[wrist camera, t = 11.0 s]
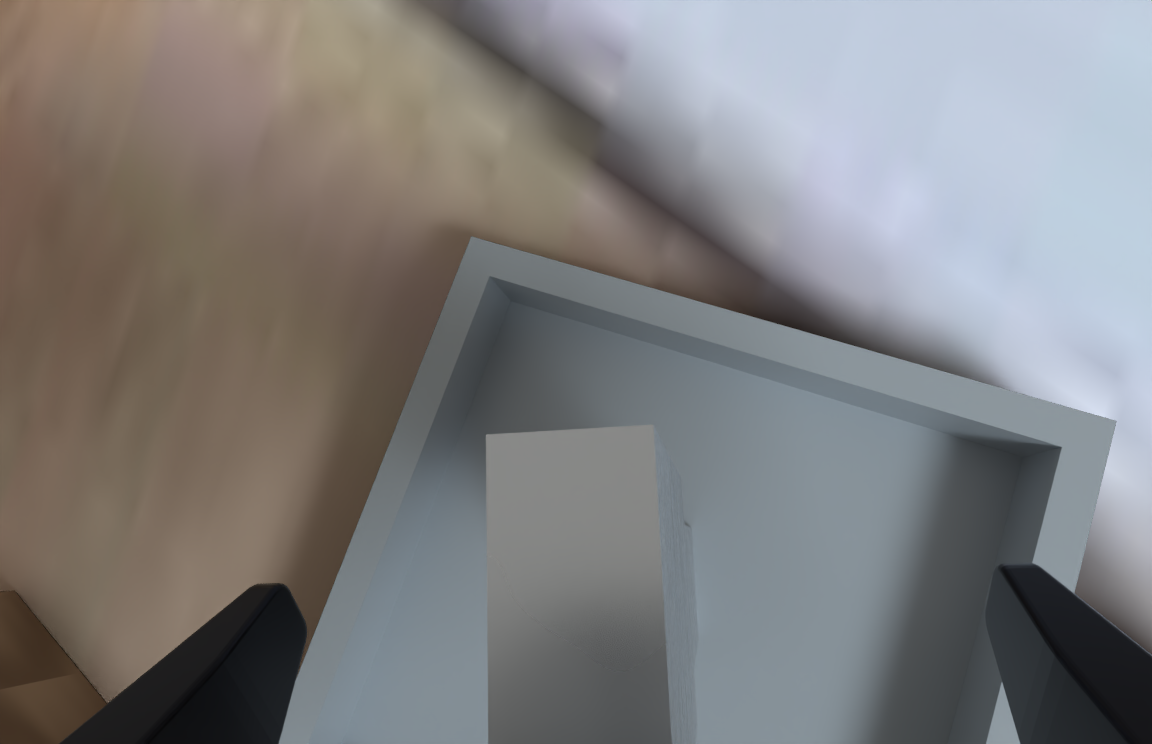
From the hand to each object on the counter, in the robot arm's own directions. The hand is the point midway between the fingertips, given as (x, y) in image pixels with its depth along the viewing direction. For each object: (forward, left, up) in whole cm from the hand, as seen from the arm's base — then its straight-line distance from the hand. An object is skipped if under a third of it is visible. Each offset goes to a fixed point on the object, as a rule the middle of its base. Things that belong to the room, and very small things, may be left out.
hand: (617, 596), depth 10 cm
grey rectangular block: (0, 0, -8) cm, 8 cm away
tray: (-1, 0, -9) cm, 9 cm away
